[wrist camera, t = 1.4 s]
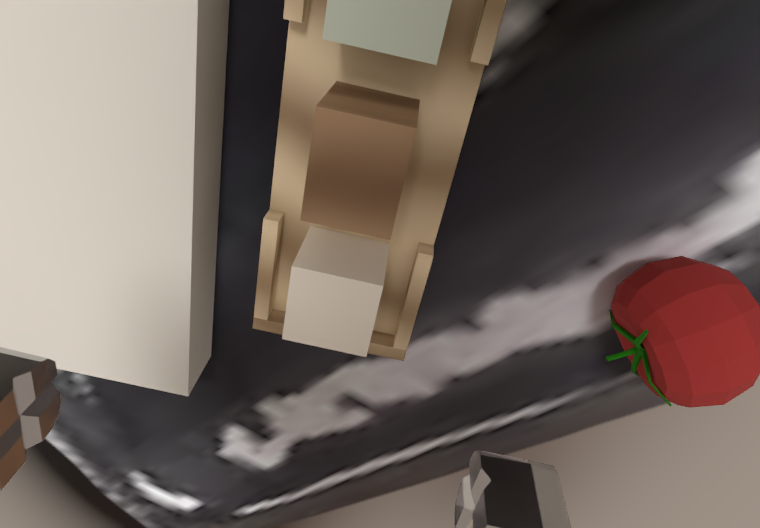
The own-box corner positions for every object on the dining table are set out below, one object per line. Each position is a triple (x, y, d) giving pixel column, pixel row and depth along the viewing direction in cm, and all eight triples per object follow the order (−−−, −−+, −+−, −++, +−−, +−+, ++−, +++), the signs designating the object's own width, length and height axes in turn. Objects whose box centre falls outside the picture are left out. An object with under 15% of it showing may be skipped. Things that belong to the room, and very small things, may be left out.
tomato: (836, 360, 23) (661, 425, 24) (766, 390, 30) (633, 440, 31) (723, 210, 26) (575, 271, 27) (684, 268, 33) (567, 316, 34)
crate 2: (310, 225, 29) (291, 266, 25) (390, 243, 29) (383, 286, 25) (300, 292, 31) (281, 339, 27) (374, 308, 31) (366, 357, 27)
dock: (-145, -285, 22) (-260, -334, 18) (239, -195, 22) (201, -225, 19) (-18, 306, 37) (-68, 344, 33) (211, 355, 37) (186, 398, 34)
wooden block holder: (323, -173, 23) (277, -228, 16) (530, -124, 23) (569, -159, 16) (270, 292, 35) (230, 371, 28) (406, 322, 35) (399, 407, 28)
